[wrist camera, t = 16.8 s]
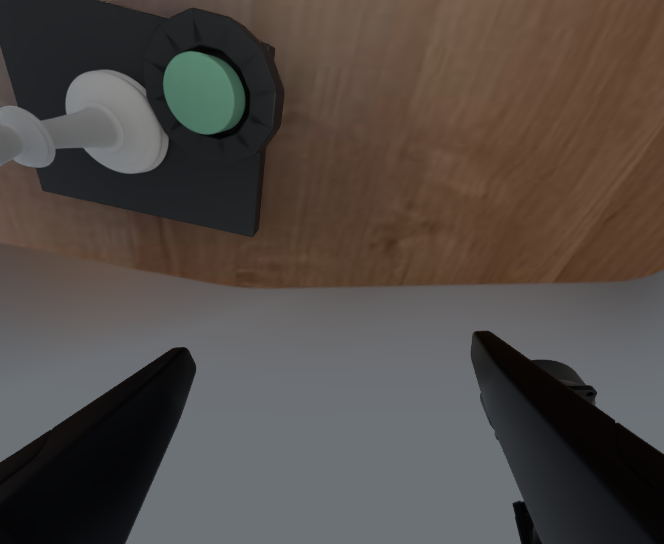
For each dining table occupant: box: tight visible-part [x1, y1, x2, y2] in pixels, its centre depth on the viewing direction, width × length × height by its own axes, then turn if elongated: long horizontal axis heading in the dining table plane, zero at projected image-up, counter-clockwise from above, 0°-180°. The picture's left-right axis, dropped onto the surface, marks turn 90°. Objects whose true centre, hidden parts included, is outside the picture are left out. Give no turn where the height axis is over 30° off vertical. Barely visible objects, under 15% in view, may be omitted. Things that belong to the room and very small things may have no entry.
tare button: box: [163, 51, 245, 135], centre depth 13 cm, size 3×3×2 cm
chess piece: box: [0, 70, 169, 174], centre depth 12 cm, size 5×5×10 cm
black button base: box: [0, 0, 284, 237], centre depth 16 cm, size 14×10×3 cm
